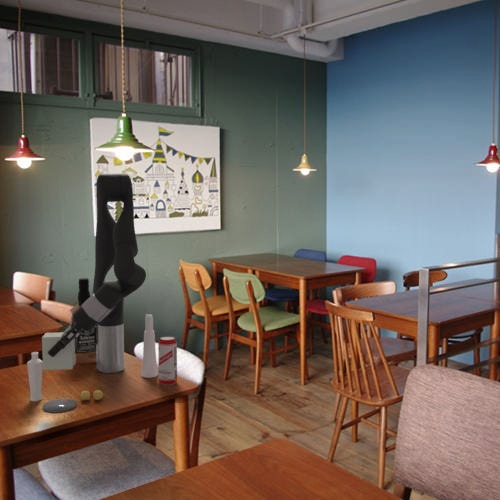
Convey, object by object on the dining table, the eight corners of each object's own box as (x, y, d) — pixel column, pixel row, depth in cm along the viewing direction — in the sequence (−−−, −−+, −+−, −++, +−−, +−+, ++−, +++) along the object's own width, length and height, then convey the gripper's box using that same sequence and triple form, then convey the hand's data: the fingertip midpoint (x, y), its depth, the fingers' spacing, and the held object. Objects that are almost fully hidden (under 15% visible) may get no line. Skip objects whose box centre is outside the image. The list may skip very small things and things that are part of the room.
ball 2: (90, 400, 179) (90, 390, 178) (98, 397, 181) (97, 388, 181) (97, 402, 177) (97, 392, 177) (104, 399, 179) (104, 389, 179)
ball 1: (78, 400, 178) (78, 391, 178) (85, 397, 181) (85, 388, 180) (85, 402, 176) (84, 393, 176) (92, 399, 179) (92, 390, 179)
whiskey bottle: (73, 365, 214) (71, 281, 210) (70, 357, 223) (68, 277, 219) (101, 361, 218) (99, 279, 214) (97, 354, 227) (95, 275, 223)
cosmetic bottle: (143, 372, 206) (142, 312, 204) (159, 372, 206) (159, 313, 203) (139, 377, 200) (138, 316, 198) (156, 378, 200) (155, 316, 197)
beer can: (173, 387, 191) (173, 340, 189) (155, 385, 192) (155, 339, 190) (179, 381, 197) (179, 336, 195) (162, 379, 198) (162, 334, 196)
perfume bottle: (47, 397, 180) (45, 351, 179) (38, 402, 176) (36, 355, 175) (35, 395, 182) (34, 350, 180) (25, 400, 178) (24, 353, 176)
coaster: (39, 413, 168) (39, 411, 168) (46, 400, 177) (46, 399, 177) (74, 411, 169) (74, 410, 169) (79, 399, 179) (79, 398, 179)
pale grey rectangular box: (43, 370, 169) (41, 337, 168) (46, 364, 174) (45, 332, 173) (72, 369, 170) (71, 336, 169) (75, 363, 175) (74, 332, 174)
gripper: (86, 299, 178) (48, 337, 178) (78, 308, 164) (37, 350, 163) (104, 315, 179) (66, 353, 179) (98, 326, 165) (56, 367, 165)
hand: (52, 351), depth 171 cm, fingers closed on pale grey rectangular box, 5 cm apart
